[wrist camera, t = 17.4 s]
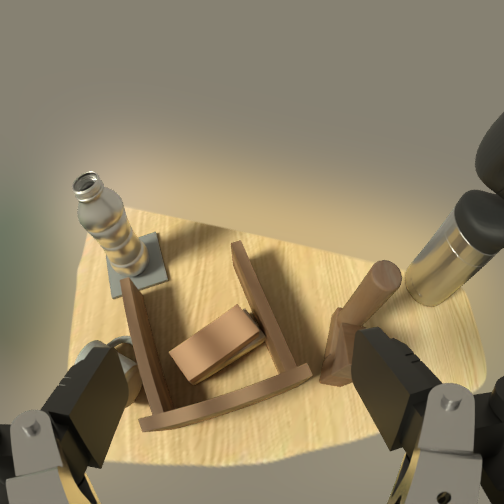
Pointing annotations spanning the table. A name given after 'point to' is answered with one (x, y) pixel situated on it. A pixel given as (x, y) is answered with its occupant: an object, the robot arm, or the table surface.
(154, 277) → the slate mat
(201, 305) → the table surface
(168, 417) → the walnut rack
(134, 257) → the silver bottle
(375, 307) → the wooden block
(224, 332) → the tan rectangular block
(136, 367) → the ceramic mug
